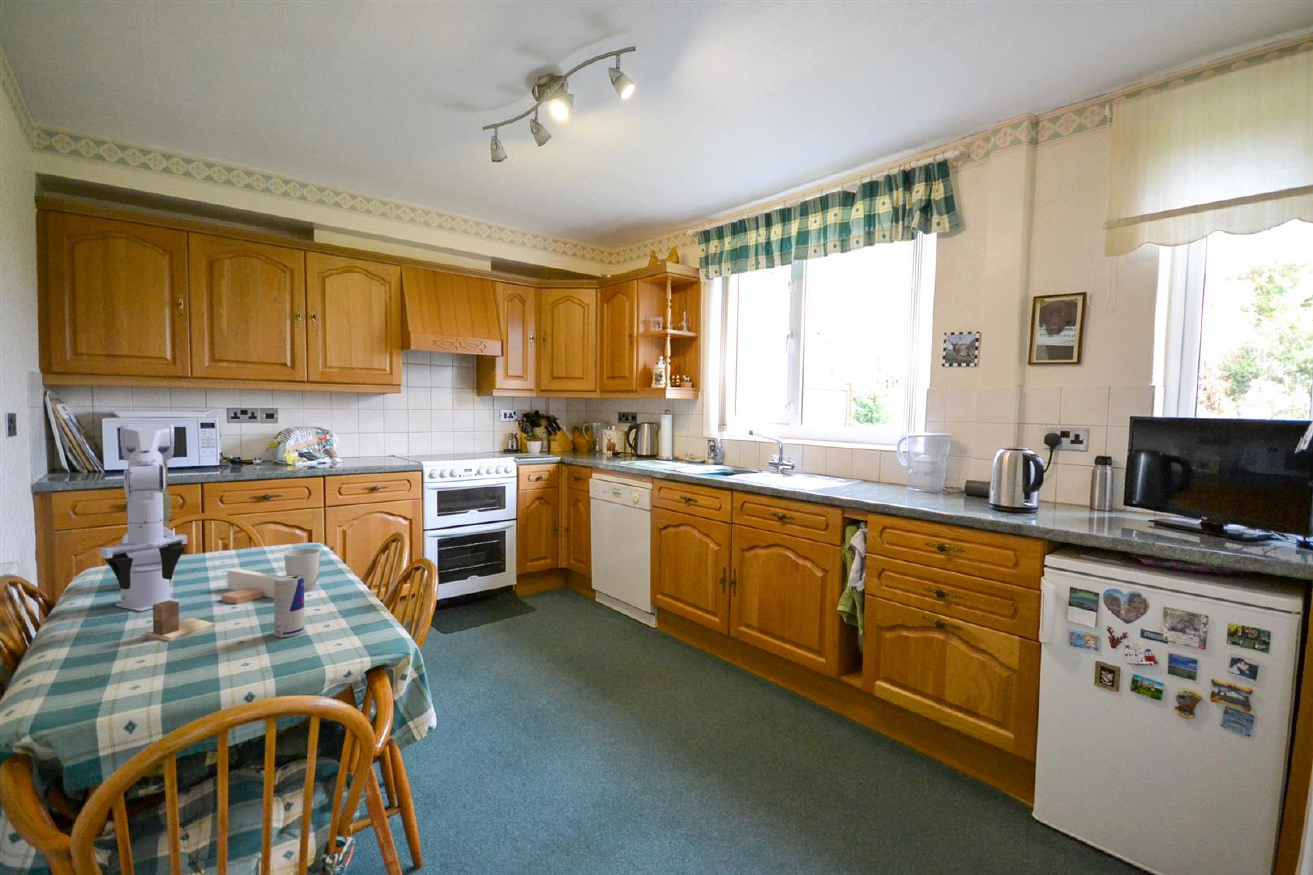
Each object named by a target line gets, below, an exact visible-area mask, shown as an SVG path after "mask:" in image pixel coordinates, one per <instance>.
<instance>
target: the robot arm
mask: <svg viewBox="0 0 1313 875" xmlns="http://www.w3.org/2000/svg"><path fill="white" fill-rule="evenodd" d="M119 430H120V431H119V439H120V443H119V444H120V448H121V455H122V456H123V460H124V461H126V462H128V464H127V469H126V468H125V469H124V470H123V490H124V492H125V501H126V502H128V504H127V506H126V516H127V515H128V521H127V533H126V534H124V535H123V536H122V538H121V543H119V544H115V545H111V546H106V547H102V548H100V558H102V559H104V561H105V562H106V563H107V565H108V566H109V567H110V568H111V570H112V571H113V573H114V576H115V577H116V579H117V582H118V585H119V588H120V603H116V604H115V606H116V607H119V608H124V609H128V610H132V611H135V612H143V611H147V610H151V609H152V610H153V604H157V603H161V602H165V601H169V600H171V601H176V602H179V599H178V598H175V597H174V598H173V597H171V596H170V595H171V594H170V593H171V592H170V589H171V588H170V582H169V579H173V575H174V572H175V569H176V566H177V564H178V561H179V560H180V558H181V556H182V555H183V554H184V552H185V549H186V546H185V544H188V535H187V534H181V533H180V534H176V533H175V532H174V530H171V529H170V528H169V529H168V528H165V527H163V492H162V491H161V490H160V488H162V489H163V491H164V490H165V468H164V465H163V463H164V462H165V461H166V462H168V461H170V460H172V459H173V455H174V454H175V453H174V451H175V450H174V449H175V425H174V424H172V423H168V424H165V423H164V424H161V423H160V424H159V423H157V424H156V423H155V424H154V423H153V424H152V423H150V424H149V423H148V424H146V423H145V424H144V423H143V424H141V423H140V424H139V423H133V424H132V423H129V424H127V423H122V424H121V425H120V429H119Z"/></svg>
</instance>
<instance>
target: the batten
mask: <svg viewBox="0 0 1313 875" xmlns="http://www.w3.org/2000/svg"><path fill="white" fill-rule="evenodd" d="M226 571H227V574H226V575H227V590H231V591H237V590H240V589H244V588H250V589H255V590H261V591H263V597H267V598H270V599H274V582H275V579H276V578H278V577H280V576H281V575H275V574H270V573H264V572H258V571H254V570H248V569H247V570H246V569H240V568H231V569H228V570H226Z"/></svg>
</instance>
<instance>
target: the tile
mask: <svg viewBox="0 0 1313 875" xmlns="http://www.w3.org/2000/svg"><path fill="white" fill-rule="evenodd" d="M263 597H264V596H263V591H261V590H255V589H250V588H244V589H240V590H237V591H235V590H232V591H230V592H226V593H222V594H221V601H222V602H225V603H230V604H234V605H240V604H243V603H247V602H250V601H254V600H258V599H260V598H263Z"/></svg>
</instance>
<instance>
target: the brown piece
mask: <svg viewBox="0 0 1313 875" xmlns="http://www.w3.org/2000/svg"><path fill="white" fill-rule="evenodd" d="M179 614H180V603H179V601H178V602H176V601H171V600H169V601H165V602H161V603H157V604H153V608H152V627H153V628H152V629H149V630H146V631H145V636H147V637H153V638H157V639H160V640H164V641H168V642H172V641H175V640H178V639H182V638H184V637H188V636H191V635H193V634H197V633H200V632H203V631H206V630H210V629H212V628H216V623H215V622H210V621H207V620H202V619H199V618H194V617H190V618H187V619H183V620H180V615H179Z"/></svg>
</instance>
